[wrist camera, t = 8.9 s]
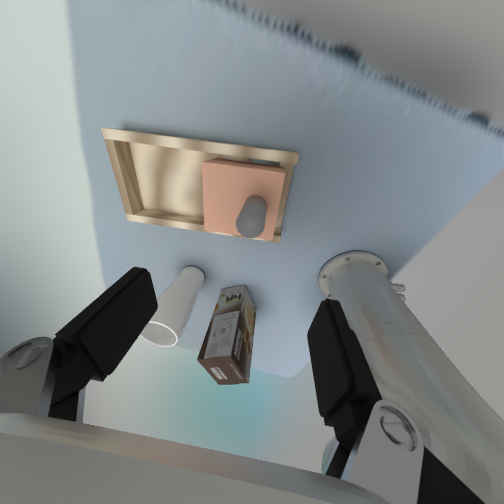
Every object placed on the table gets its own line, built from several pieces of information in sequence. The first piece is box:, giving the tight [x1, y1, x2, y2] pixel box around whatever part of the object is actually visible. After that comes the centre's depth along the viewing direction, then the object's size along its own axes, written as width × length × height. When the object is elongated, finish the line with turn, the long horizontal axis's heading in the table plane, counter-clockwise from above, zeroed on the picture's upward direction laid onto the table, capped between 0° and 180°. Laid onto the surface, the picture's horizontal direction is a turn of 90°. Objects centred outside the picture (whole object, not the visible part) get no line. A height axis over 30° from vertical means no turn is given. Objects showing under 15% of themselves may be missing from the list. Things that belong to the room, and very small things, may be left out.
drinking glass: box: [140, 266, 204, 347], centre depth 34 cm, size 7×7×15 cm
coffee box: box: [197, 285, 256, 385], centre depth 37 cm, size 9×6×16 cm
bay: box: [101, 128, 299, 243], centre depth 28 cm, size 26×13×4 cm, turn 84°
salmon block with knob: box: [202, 158, 285, 240], centre depth 23 cm, size 10×9×12 cm
